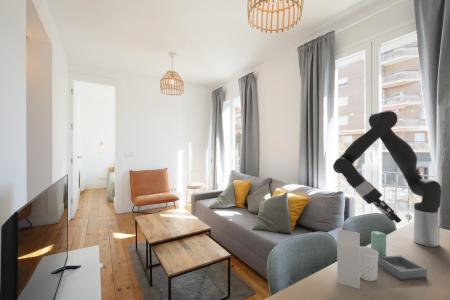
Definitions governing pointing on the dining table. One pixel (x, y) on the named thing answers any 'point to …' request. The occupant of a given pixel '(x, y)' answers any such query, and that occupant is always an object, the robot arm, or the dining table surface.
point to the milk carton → (348, 258)
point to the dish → (402, 268)
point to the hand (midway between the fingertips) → (396, 220)
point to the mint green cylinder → (378, 242)
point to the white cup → (368, 263)
